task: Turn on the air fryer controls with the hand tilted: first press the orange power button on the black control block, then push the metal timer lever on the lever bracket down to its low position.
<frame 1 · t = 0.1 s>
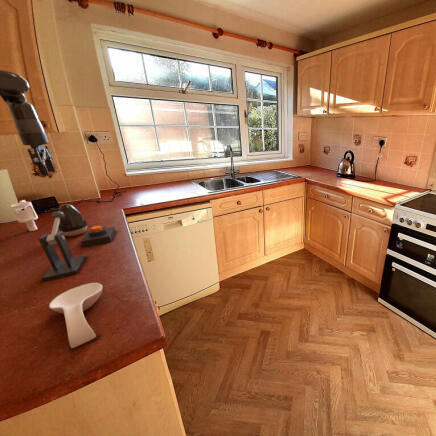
hand: (48, 173, 101), 30 cm above the countertop, tool pointing down, fingers open, 8 cm apart
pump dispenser: (76, 234, 117), on the countertop
power block: (100, 238, 111), on the countertop
power button: (96, 228, 109), point 5 cm above the countertop, slide at 0.1 cm
white stemmed block: (33, 230, 124), on the countertop
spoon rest: (83, 317, 66), on the countertop
timer lever: (55, 226, 88), point 15 cm above the countertop, hinge at 25.0°
lever bracket: (66, 268, 89), on the countertop
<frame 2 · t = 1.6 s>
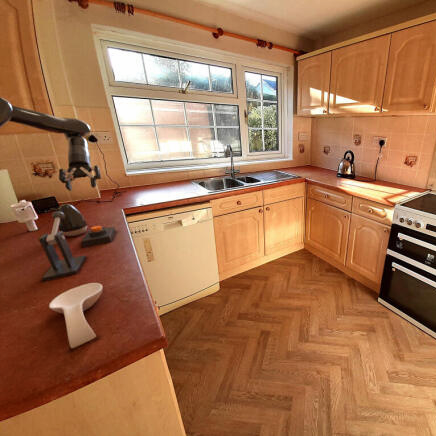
hand: (81, 188, 106), 23 cm above the countertop, tool tilted 45°, fingers open, 8 cm apart
nothing on the countertop moved.
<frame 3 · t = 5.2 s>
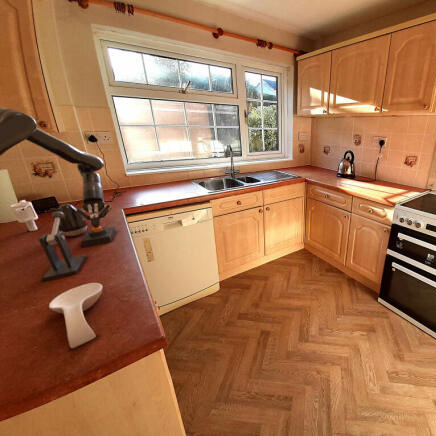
hand: (96, 226, 109), 6 cm above the countertop, tool tilted 45°, fingers closed
power button: (96, 229, 109), point 5 cm above the countertop, slide at -0.1 cm, touching gripper
everything else where it was.
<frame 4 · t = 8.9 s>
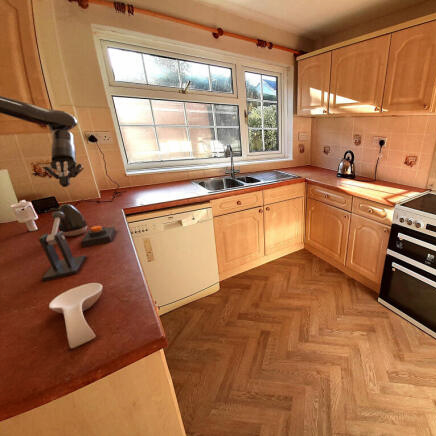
hand: (64, 185, 99), 26 cm above the countertop, tool tilted 45°, fingers closed
power button: (96, 228, 109), point 5 cm above the countertop, slide at 0.1 cm
everything else where it was.
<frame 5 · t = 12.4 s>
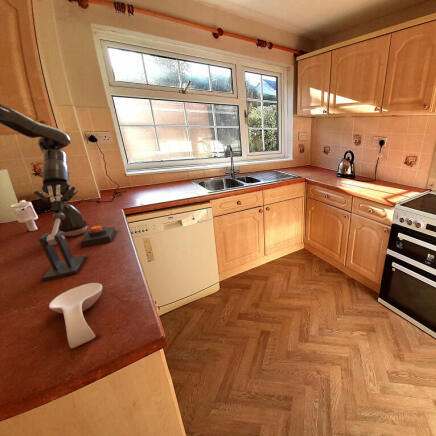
hand: (57, 211, 91), 18 cm above the countertop, tool tilted 45°, fingers closed
timer lever: (56, 227, 88), point 14 cm above the countertop, hinge at 22.5°, touching gripper
everything else where it was.
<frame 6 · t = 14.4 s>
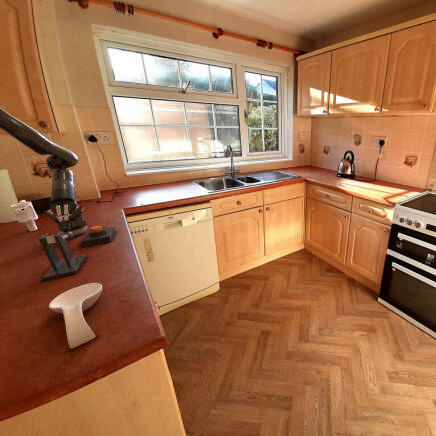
hand: (65, 230, 94), 11 cm above the countertop, tool tilted 45°, fingers closed
timer lever: (60, 237, 90), point 10 cm above the countertop, hinge at -17.6°, touching gripper
everything else where it was.
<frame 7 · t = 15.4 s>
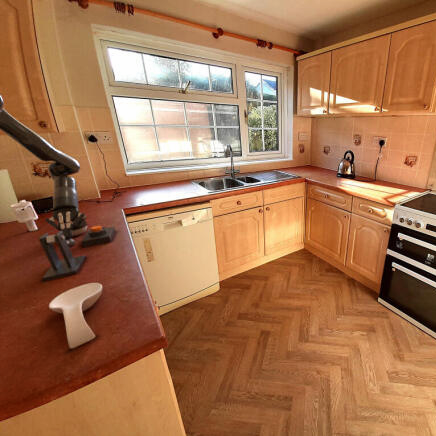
hand: (67, 238, 94), 8 cm above the countertop, tool tilted 45°, fingers closed
timer lever: (61, 241, 90), point 9 cm above the countertop, hinge at -31.9°, touching gripper
everything else where it was.
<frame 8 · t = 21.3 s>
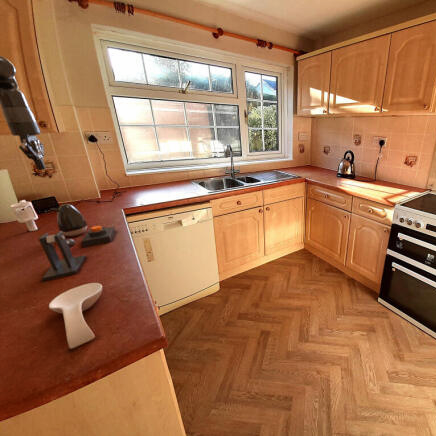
hand: (41, 169, 94), 33 cm above the countertop, tool pointing down, fingers closed
timer lever: (61, 241, 90), point 9 cm above the countertop, hinge at -31.9°
everything else where it was.
at the end: power button pushed in 1.2 cm at the most during the clip, back to where it started at the end; power button slide at 0.1 cm; timer lever at -32° (first picture: +25°) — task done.
